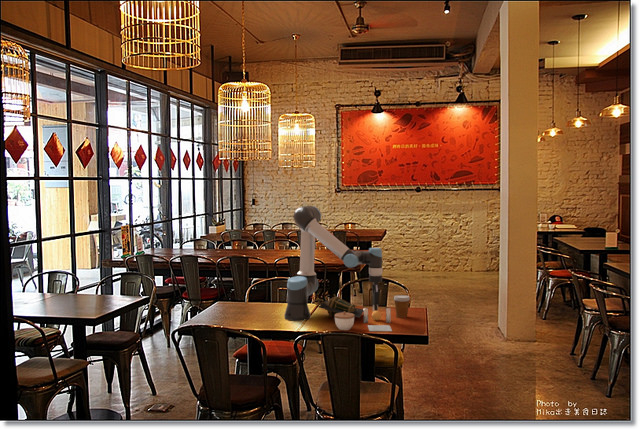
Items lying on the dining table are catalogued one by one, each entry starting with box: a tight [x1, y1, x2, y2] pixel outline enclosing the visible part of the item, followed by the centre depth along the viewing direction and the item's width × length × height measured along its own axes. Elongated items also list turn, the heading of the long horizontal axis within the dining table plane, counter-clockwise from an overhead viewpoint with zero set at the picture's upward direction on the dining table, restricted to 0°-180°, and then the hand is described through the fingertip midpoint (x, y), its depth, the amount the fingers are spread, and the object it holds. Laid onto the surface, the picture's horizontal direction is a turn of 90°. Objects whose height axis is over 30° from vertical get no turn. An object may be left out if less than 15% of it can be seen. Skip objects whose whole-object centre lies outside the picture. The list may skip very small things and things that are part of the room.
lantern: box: [313, 294, 364, 318], centre depth 335 cm, size 14×23×30 cm
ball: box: [371, 310, 382, 321], centre depth 327 cm, size 6×6×6 cm
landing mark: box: [367, 324, 393, 332], centre depth 309 cm, size 12×12×1 cm
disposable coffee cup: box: [393, 294, 411, 319], centre depth 336 cm, size 10×10×12 cm
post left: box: [363, 307, 369, 324], centre depth 322 cm, size 3×3×8 cm
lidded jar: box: [334, 311, 355, 331], centre depth 308 cm, size 11×11×9 cm
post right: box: [385, 307, 392, 324], centre depth 322 cm, size 3×3×8 cm
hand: (375, 315), depth 331 cm, fingers closed
